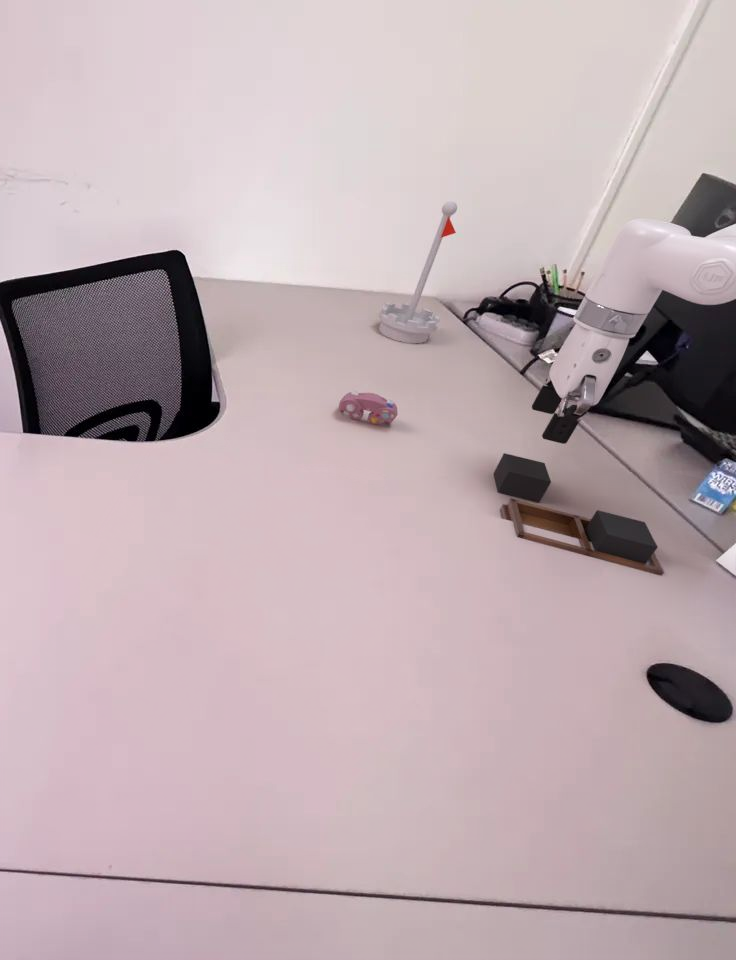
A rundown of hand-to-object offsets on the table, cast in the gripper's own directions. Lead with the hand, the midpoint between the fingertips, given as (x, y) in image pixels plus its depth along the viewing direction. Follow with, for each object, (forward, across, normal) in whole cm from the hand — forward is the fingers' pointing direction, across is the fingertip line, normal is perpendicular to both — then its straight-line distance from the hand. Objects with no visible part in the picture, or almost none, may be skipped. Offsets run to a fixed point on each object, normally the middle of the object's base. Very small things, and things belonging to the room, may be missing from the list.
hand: (547, 425), depth 101 cm
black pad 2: (+10, -13, -11) cm, 20 cm away
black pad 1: (+11, 0, 0) cm, 11 cm away
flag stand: (+12, +62, +16) cm, 65 cm away
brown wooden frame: (+11, -13, -6) cm, 18 cm away
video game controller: (+12, +11, +24) cm, 29 cm away
